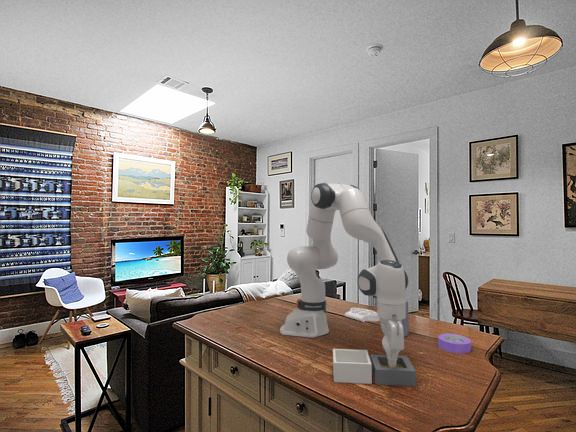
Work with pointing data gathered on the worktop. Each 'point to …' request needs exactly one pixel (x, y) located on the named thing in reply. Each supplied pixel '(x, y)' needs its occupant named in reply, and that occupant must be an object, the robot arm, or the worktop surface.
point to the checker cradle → (393, 371)
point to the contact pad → (390, 367)
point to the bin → (352, 366)
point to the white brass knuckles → (362, 315)
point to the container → (405, 321)
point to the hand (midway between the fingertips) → (391, 354)
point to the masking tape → (454, 343)
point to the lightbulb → (389, 353)
